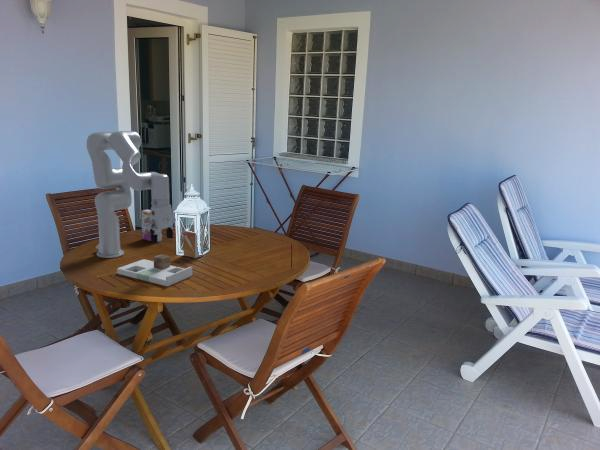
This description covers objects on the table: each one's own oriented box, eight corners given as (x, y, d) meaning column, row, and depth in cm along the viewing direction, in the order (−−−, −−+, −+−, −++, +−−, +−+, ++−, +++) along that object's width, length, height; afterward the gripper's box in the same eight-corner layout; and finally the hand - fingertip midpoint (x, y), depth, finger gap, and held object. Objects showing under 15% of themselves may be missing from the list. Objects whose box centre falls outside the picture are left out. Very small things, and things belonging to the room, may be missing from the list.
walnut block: (153, 267, 219) (153, 256, 217) (161, 264, 223) (161, 254, 222) (162, 269, 216) (162, 258, 215) (170, 266, 221) (169, 256, 220)
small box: (182, 255, 246) (182, 230, 243) (191, 252, 251) (191, 228, 248) (195, 258, 242) (195, 233, 239) (203, 255, 247) (203, 230, 244)
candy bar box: (141, 239, 271) (140, 210, 267) (148, 237, 275) (147, 209, 271) (155, 243, 265) (154, 213, 261) (162, 241, 269) (161, 212, 265)
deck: (117, 273, 216) (117, 264, 215) (143, 264, 230) (143, 255, 229) (167, 286, 204) (167, 277, 203) (192, 275, 218) (192, 266, 217)
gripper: (153, 206, 203) (154, 246, 207) (180, 200, 218) (181, 237, 222) (139, 204, 207) (141, 243, 210) (167, 198, 222) (169, 235, 225)
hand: (162, 240), depth 216 cm, fingers open, 9 cm apart
